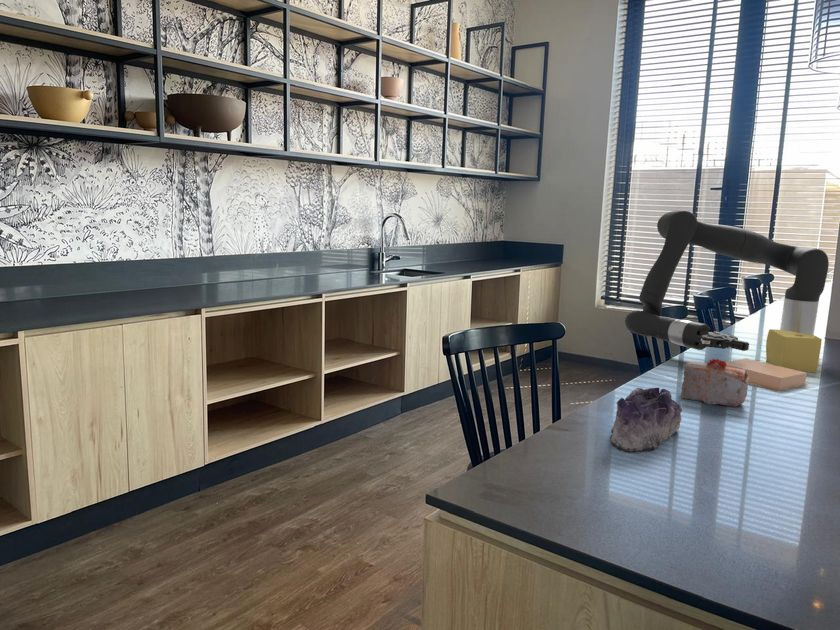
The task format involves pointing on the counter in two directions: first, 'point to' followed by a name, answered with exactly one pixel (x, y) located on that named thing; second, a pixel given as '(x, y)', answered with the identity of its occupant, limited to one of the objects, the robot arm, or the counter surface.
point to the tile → (769, 374)
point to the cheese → (793, 350)
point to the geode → (645, 420)
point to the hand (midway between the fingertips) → (747, 346)
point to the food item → (714, 383)
